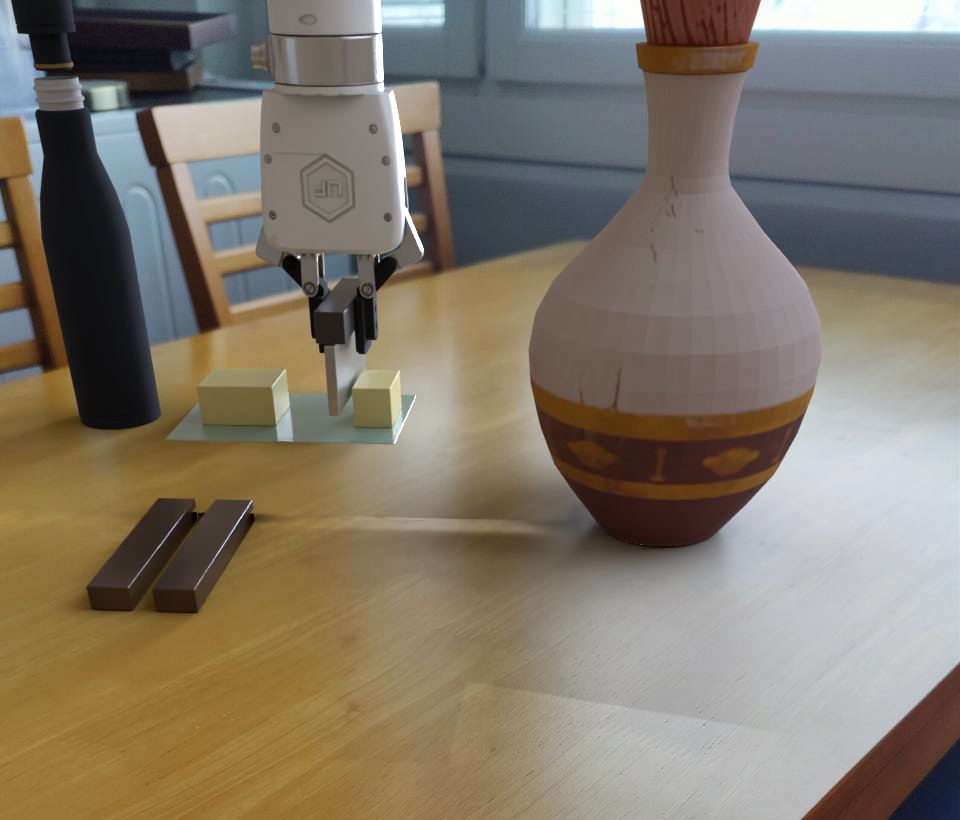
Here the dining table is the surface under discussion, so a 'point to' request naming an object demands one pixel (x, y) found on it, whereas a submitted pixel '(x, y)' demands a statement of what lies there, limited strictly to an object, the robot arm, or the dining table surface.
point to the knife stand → (155, 546)
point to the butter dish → (296, 425)
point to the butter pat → (377, 398)
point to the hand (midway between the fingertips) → (345, 347)
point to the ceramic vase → (677, 312)
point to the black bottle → (86, 240)
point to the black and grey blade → (339, 343)
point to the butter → (243, 396)
